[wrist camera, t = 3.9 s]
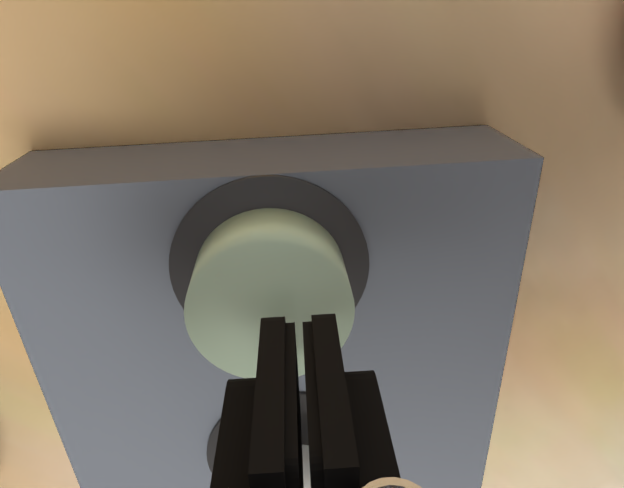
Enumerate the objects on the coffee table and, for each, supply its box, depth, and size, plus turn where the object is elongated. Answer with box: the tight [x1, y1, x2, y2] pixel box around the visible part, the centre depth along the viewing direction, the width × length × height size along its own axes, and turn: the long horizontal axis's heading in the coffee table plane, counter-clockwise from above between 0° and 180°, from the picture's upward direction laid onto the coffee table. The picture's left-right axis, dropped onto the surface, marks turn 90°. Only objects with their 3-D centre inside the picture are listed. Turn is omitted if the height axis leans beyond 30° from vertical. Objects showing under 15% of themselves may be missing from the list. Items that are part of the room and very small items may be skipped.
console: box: [0, 125, 544, 488], centre depth 20 cm, size 16×22×4 cm
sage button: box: [184, 208, 355, 378], centre depth 13 cm, size 4×4×2 cm
